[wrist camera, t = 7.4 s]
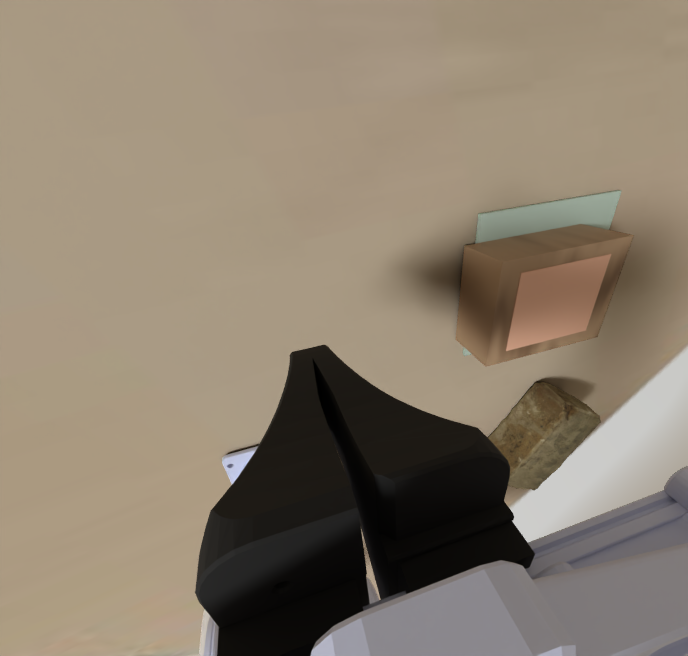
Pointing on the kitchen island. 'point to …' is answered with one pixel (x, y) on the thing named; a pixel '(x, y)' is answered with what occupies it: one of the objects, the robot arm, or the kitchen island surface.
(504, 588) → the robot arm
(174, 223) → the kitchen island surface
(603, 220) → the mat
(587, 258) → the walnut block
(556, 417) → the stone block
